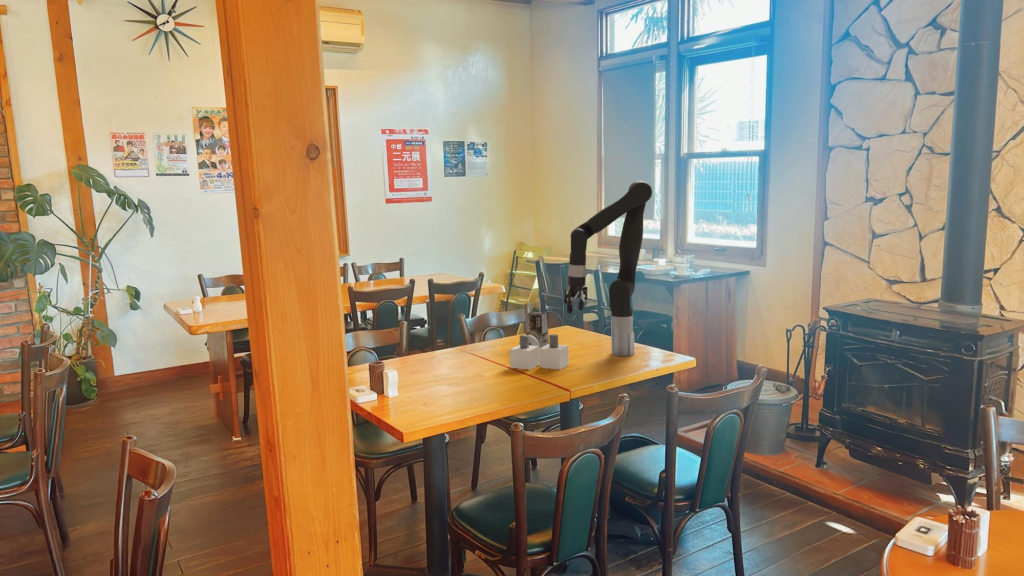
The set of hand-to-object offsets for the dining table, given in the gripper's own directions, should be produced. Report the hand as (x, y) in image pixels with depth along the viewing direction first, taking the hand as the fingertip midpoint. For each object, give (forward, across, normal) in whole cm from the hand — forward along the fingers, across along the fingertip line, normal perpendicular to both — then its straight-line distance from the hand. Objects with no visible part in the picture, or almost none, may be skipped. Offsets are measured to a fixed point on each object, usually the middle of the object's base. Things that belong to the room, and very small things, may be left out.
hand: (575, 311), depth 290 cm
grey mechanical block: (+21, +4, +23) cm, 32 cm away
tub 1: (+20, -27, +5) cm, 34 cm away
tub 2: (+19, -20, -4) cm, 28 cm away
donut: (+21, -14, +14) cm, 28 cm away
